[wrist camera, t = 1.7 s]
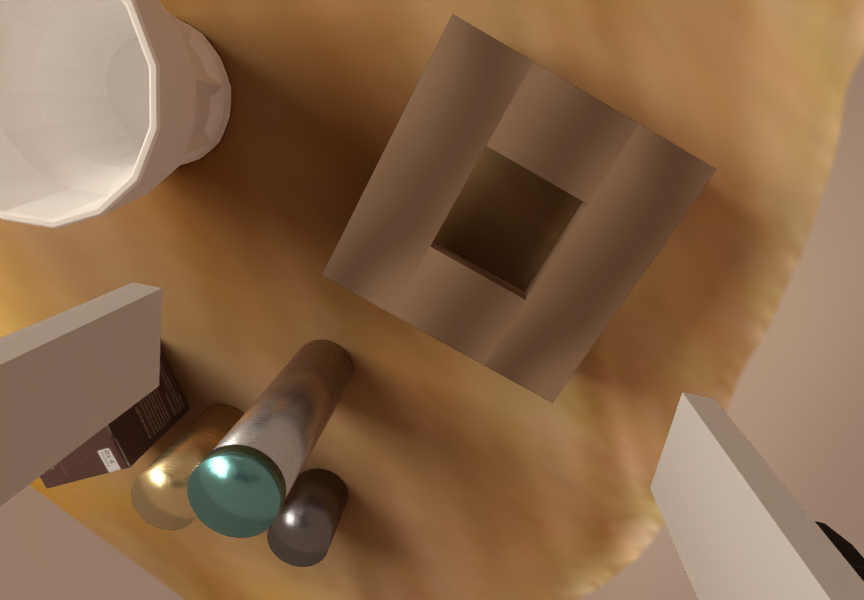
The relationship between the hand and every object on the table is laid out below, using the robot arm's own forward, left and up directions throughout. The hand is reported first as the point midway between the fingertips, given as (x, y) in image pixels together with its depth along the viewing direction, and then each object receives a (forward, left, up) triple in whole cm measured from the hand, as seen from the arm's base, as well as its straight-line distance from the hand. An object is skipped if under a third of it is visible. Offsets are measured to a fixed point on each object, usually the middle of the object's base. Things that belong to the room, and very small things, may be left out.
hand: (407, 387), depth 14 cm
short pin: (+1, -21, -21) cm, 30 cm away
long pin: (-3, -12, -21) cm, 25 cm away
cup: (-19, -1, -22) cm, 29 cm away
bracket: (+2, +3, -21) cm, 22 cm away
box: (-14, -20, -22) cm, 33 cm away
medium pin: (-7, -20, -21) cm, 30 cm away
